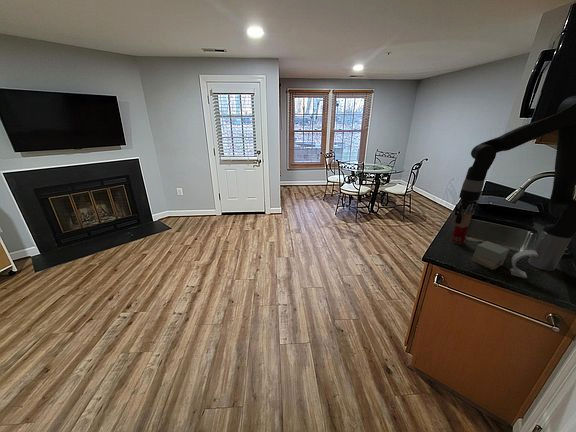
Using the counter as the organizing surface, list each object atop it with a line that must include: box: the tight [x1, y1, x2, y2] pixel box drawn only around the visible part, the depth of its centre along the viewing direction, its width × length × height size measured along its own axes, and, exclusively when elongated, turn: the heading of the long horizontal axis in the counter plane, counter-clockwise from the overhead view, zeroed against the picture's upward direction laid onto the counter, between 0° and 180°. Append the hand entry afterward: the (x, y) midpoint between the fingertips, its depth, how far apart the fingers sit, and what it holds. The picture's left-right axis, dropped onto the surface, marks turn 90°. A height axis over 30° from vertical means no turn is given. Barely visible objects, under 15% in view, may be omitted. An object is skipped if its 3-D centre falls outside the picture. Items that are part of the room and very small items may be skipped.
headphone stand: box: [509, 249, 538, 279], centre depth 104 cm, size 5×6×12 cm
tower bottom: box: [471, 252, 506, 271], centre depth 113 cm, size 9×9×4 cm
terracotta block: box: [451, 211, 473, 228], centre depth 115 cm, size 5×5×6 cm
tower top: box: [474, 240, 510, 262], centre depth 111 cm, size 9×9×4 cm
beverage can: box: [451, 225, 469, 245], centre depth 131 cm, size 6×6×15 cm
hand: (460, 222), depth 115 cm, fingers closed on terracotta block, 5 cm apart
